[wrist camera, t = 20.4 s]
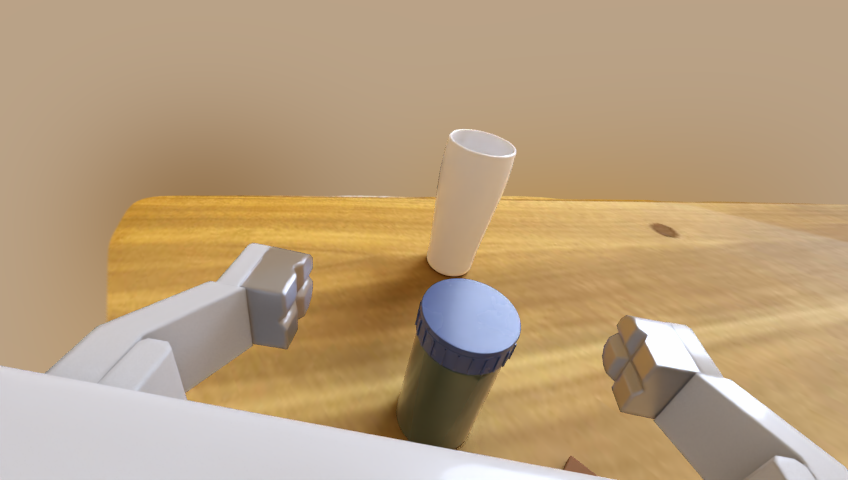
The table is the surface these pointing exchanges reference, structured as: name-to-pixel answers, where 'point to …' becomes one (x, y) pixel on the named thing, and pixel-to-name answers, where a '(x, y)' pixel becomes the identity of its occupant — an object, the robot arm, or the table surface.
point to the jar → (439, 401)
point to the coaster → (577, 467)
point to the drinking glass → (467, 197)
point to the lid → (467, 326)
